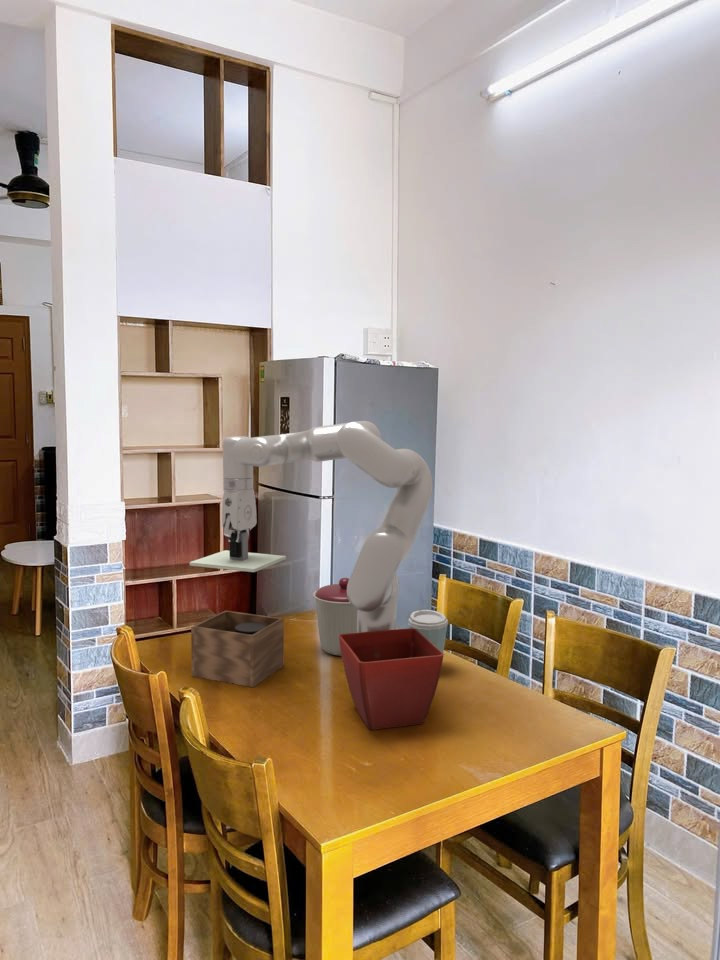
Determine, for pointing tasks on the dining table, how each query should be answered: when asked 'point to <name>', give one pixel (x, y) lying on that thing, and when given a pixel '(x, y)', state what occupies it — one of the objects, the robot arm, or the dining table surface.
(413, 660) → the plant pot
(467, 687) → the dining table surface
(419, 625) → the disposable coffee cup
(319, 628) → the canister
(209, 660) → the box
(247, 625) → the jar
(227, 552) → the lid
